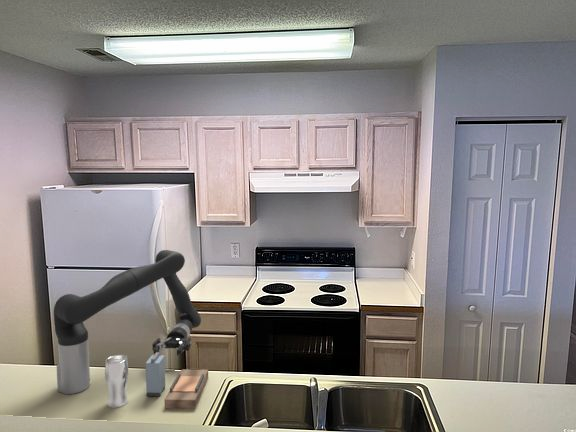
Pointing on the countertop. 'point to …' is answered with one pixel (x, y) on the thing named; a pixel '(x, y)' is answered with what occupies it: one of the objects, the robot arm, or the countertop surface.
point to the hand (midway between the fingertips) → (166, 352)
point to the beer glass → (116, 380)
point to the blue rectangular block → (155, 375)
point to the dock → (186, 389)
